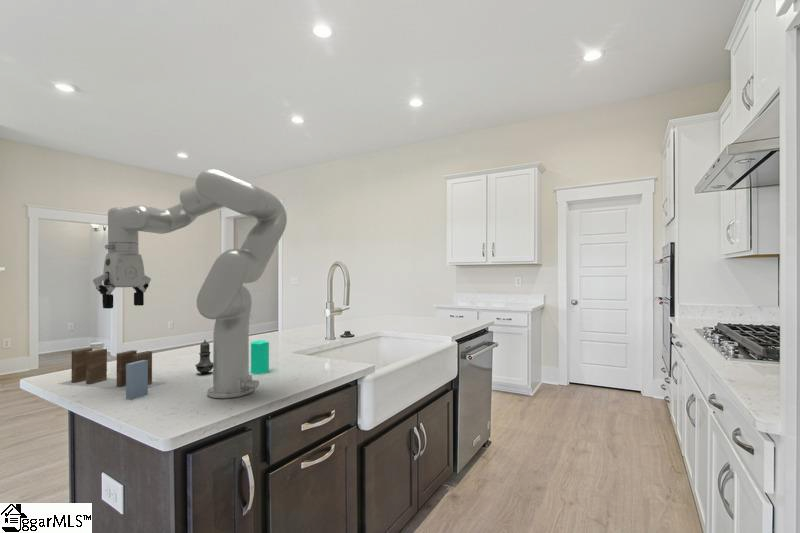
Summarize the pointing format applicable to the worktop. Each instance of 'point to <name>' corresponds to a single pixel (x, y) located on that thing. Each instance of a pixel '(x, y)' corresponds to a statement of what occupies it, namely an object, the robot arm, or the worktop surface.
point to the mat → (106, 384)
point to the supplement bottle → (97, 345)
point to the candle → (259, 357)
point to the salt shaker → (204, 360)
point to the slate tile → (136, 379)
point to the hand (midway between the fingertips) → (124, 306)
